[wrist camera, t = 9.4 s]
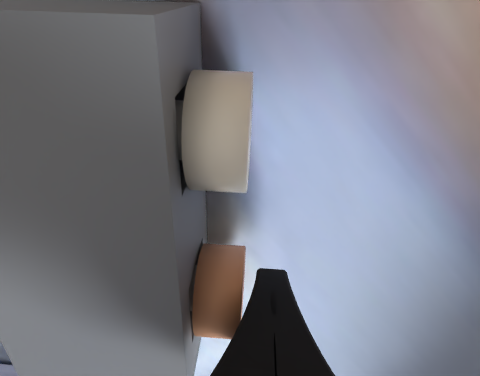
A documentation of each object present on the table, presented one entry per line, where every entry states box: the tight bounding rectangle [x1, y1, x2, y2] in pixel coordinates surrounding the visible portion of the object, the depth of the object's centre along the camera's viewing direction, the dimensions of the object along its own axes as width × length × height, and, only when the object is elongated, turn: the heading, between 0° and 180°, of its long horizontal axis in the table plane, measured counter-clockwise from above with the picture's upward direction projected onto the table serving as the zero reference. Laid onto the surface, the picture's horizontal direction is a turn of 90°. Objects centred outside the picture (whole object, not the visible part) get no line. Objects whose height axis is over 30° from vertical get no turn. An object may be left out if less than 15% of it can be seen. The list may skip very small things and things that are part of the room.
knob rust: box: [189, 243, 246, 339], centre depth 13 cm, size 6×3×3 cm, turn 89°
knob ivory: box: [175, 70, 253, 193], centre depth 10 cm, size 6×3×3 cm, turn 89°
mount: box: [0, 0, 207, 376], centre depth 11 cm, size 6×12×5 cm, turn 179°
